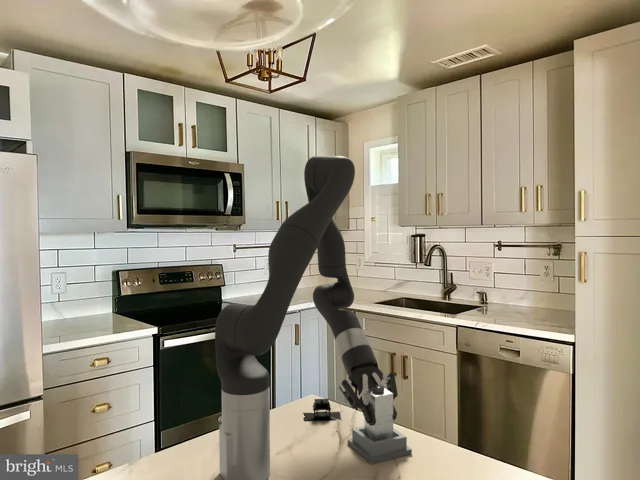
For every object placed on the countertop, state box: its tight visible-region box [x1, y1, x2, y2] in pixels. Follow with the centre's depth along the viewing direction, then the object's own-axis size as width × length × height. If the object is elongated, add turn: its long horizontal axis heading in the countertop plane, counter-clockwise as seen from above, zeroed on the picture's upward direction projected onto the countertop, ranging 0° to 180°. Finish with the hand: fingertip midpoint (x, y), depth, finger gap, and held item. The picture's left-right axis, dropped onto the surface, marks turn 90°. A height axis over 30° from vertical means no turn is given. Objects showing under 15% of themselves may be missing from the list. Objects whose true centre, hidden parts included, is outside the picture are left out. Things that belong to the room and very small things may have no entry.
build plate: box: [302, 398, 342, 422], centre depth 118 cm, size 12×7×5 cm, turn 93°
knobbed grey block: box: [363, 385, 394, 442], centre depth 100 cm, size 4×4×11 cm
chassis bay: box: [347, 425, 413, 465], centre depth 100 cm, size 10×10×4 cm
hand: (383, 421), depth 99 cm, fingers closed on knobbed grey block, 4 cm apart
